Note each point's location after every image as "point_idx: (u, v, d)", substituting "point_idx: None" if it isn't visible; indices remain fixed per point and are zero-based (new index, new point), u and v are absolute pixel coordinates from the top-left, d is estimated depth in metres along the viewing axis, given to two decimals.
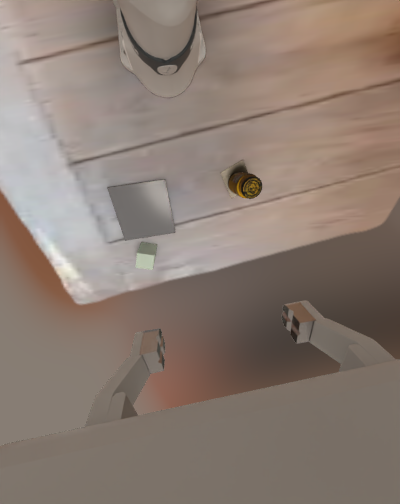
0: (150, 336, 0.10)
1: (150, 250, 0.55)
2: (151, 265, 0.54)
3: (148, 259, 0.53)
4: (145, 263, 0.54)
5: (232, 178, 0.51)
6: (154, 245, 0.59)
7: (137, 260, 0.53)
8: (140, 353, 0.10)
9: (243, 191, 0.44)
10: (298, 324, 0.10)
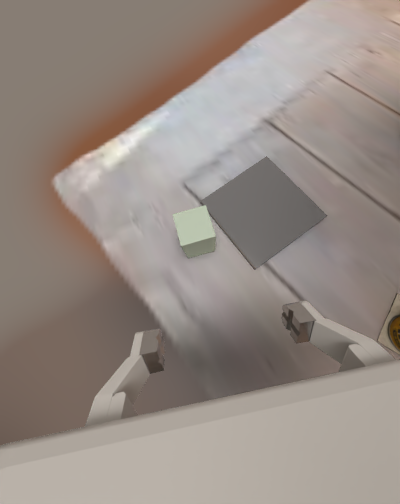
0: (150, 336, 0.10)
1: None
2: (190, 239, 0.25)
3: (201, 228, 0.25)
4: (189, 226, 0.25)
5: None
6: None
7: (190, 211, 0.26)
8: (140, 353, 0.10)
9: None
10: (298, 324, 0.10)
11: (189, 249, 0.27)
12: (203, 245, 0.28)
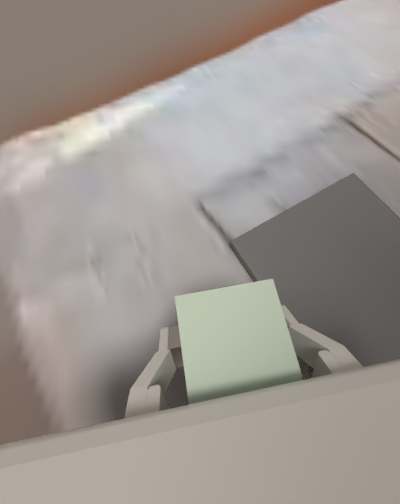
0: (176, 331, 0.11)
1: None
2: None
3: (260, 360, 0.08)
4: (224, 346, 0.08)
5: None
6: None
7: (227, 293, 0.09)
8: (168, 347, 0.10)
9: None
10: None
11: None
12: None
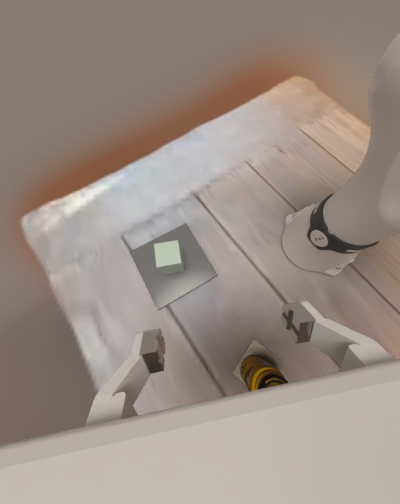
0: (150, 336, 0.10)
1: (181, 259, 0.39)
2: (163, 263, 0.36)
3: (172, 256, 0.37)
4: (164, 254, 0.37)
5: (259, 358, 0.36)
6: (183, 267, 0.43)
7: (166, 243, 0.37)
8: (140, 353, 0.10)
9: (264, 382, 0.27)
10: (298, 324, 0.10)
11: (163, 269, 0.38)
12: (174, 267, 0.39)
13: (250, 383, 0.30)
